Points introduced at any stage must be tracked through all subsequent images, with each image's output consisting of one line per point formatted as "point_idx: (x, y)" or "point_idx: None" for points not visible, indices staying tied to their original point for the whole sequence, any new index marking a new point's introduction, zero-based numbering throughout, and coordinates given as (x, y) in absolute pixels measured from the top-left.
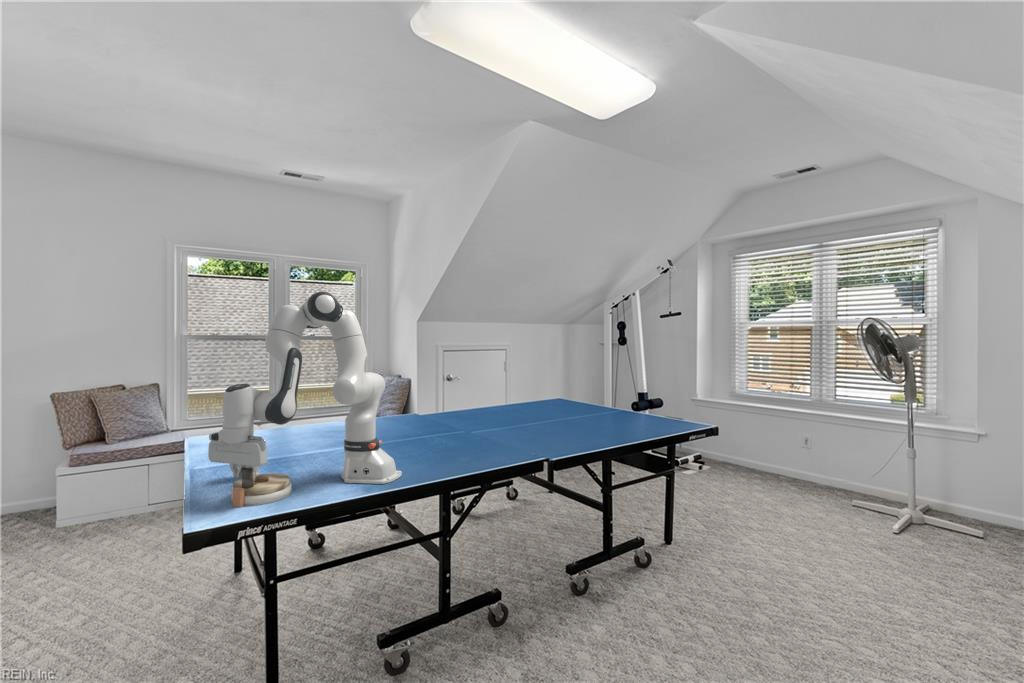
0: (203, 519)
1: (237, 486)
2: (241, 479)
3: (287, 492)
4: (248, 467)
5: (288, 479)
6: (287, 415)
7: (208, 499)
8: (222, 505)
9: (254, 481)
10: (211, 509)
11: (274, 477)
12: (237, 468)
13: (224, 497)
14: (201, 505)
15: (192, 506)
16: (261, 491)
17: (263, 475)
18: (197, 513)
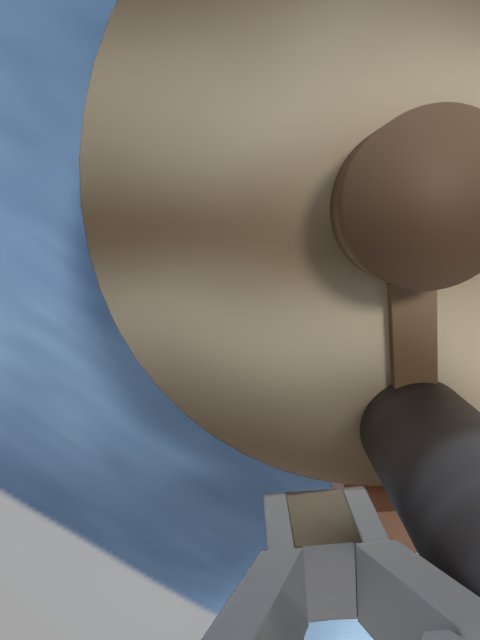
0: (333, 636)
1: (291, 446)
2: (112, 250)
3: None
4: None
5: None
6: None
7: (34, 415)
8: (238, 463)
9: (330, 253)
10: (236, 530)
11: (466, 2)
12: (281, 596)
13: (98, 346)
14: (108, 505)
15: (74, 533)
16: None
17: (418, 147)
18: (217, 593)
